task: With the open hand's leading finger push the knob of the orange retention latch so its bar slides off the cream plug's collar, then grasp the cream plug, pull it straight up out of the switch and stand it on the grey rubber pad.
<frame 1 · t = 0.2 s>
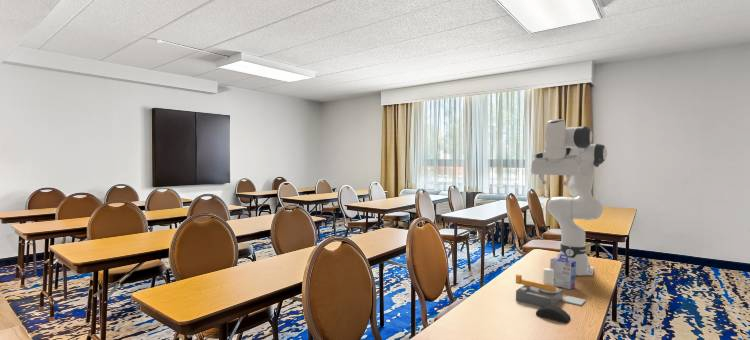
hand: (554, 184, 176), 47 cm above the table, fingers open, 8 cm apart
clip: (535, 282, 161), point 7 cm above the table, slide at 0.0 cm
plug: (547, 300, 161), resting in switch
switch: (539, 299, 162), on the table
pad: (574, 301, 160), on the table
computer mouse: (552, 318, 144), on the table
ink cartridge box: (562, 286, 179), on the table
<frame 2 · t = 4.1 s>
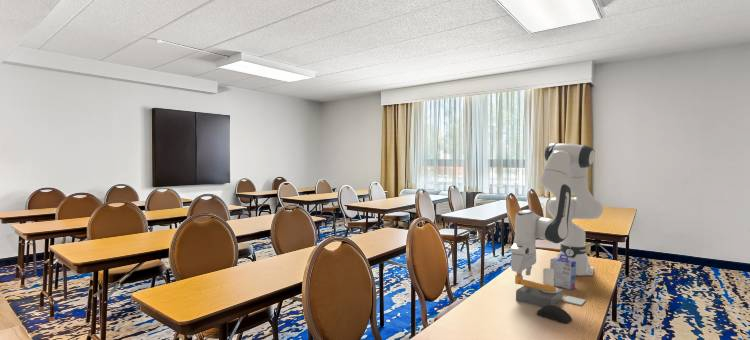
hand: (524, 277, 171), 6 cm above the table, fingers open, 8 cm apart
clip: (534, 283, 161), point 7 cm above the table, slide at 0.7 cm, touching gripper
everything else where it was.
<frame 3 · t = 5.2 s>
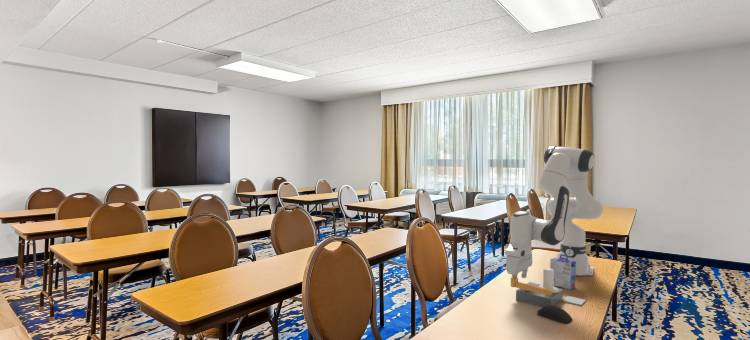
hand: (519, 280, 167), 6 cm above the table, fingers open, 8 cm apart
clip: (530, 286, 157), point 7 cm above the table, slide at 5.5 cm, touching gripper
everything else where it was.
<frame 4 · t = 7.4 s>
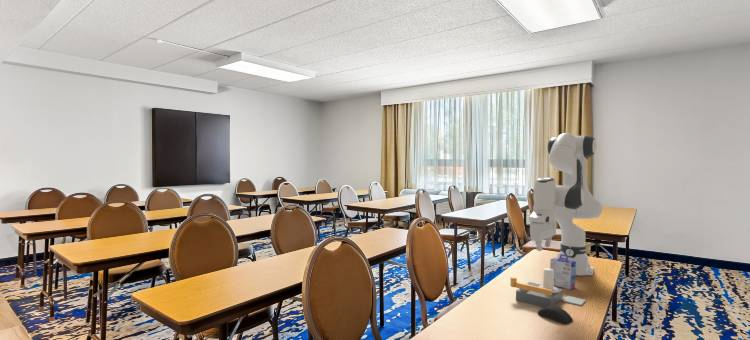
hand: (543, 248, 162), 21 cm above the table, fingers open, 8 cm apart
clip: (530, 286, 157), point 7 cm above the table, slide at 5.6 cm
everything else where it was.
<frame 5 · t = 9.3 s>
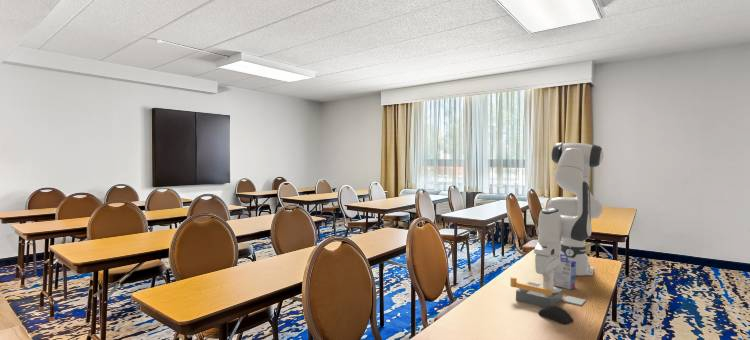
hand: (548, 279, 161), 9 cm above the table, fingers closed on plug, 4 cm apart
plug: (547, 300, 161), resting in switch, touching gripper
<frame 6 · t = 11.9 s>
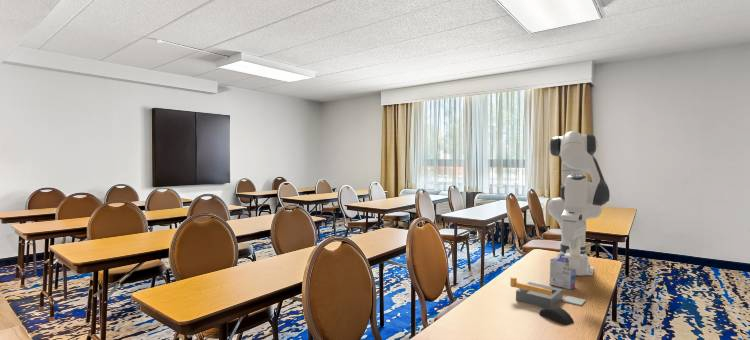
hand: (574, 247, 159), 23 cm above the table, fingers closed on plug, 4 cm apart
plug: (574, 267, 159), point 14 cm above the table, touching gripper
when the fingers open (11 cm above the table, at t = 14.5 s): plug drops 2 cm, resting on pad.
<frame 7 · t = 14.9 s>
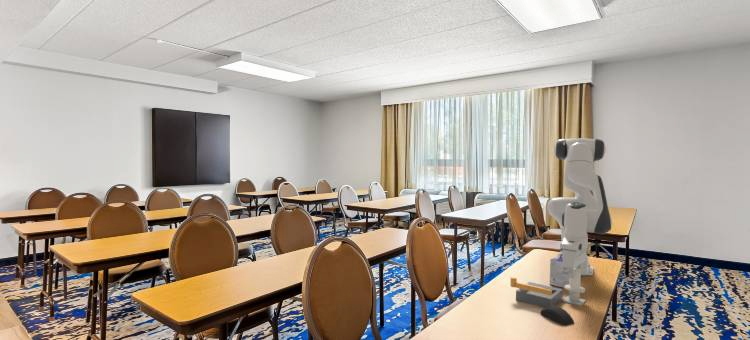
hand: (574, 275, 159), 11 cm above the table, fingers open, 8 cm apart
plug: (574, 299, 160), point 1 cm above the table, touching pad
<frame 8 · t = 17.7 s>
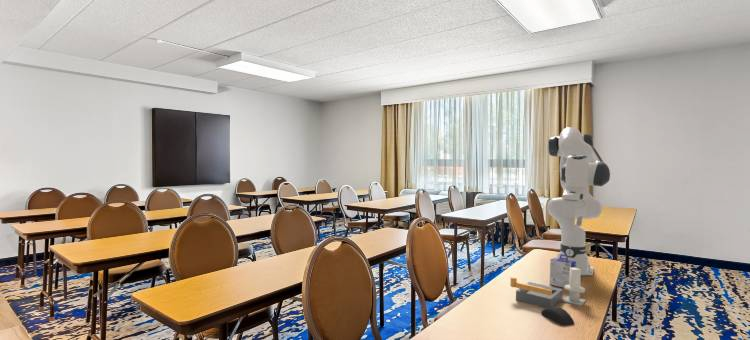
hand: (575, 227, 158), 31 cm above the table, fingers open, 8 cm apart
at the end: clip slide at 5.6 cm; plug inside the target area on the pad (0.1 cm from its centre), point 0.6 cm above the pad's base; plug tilted 1° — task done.
